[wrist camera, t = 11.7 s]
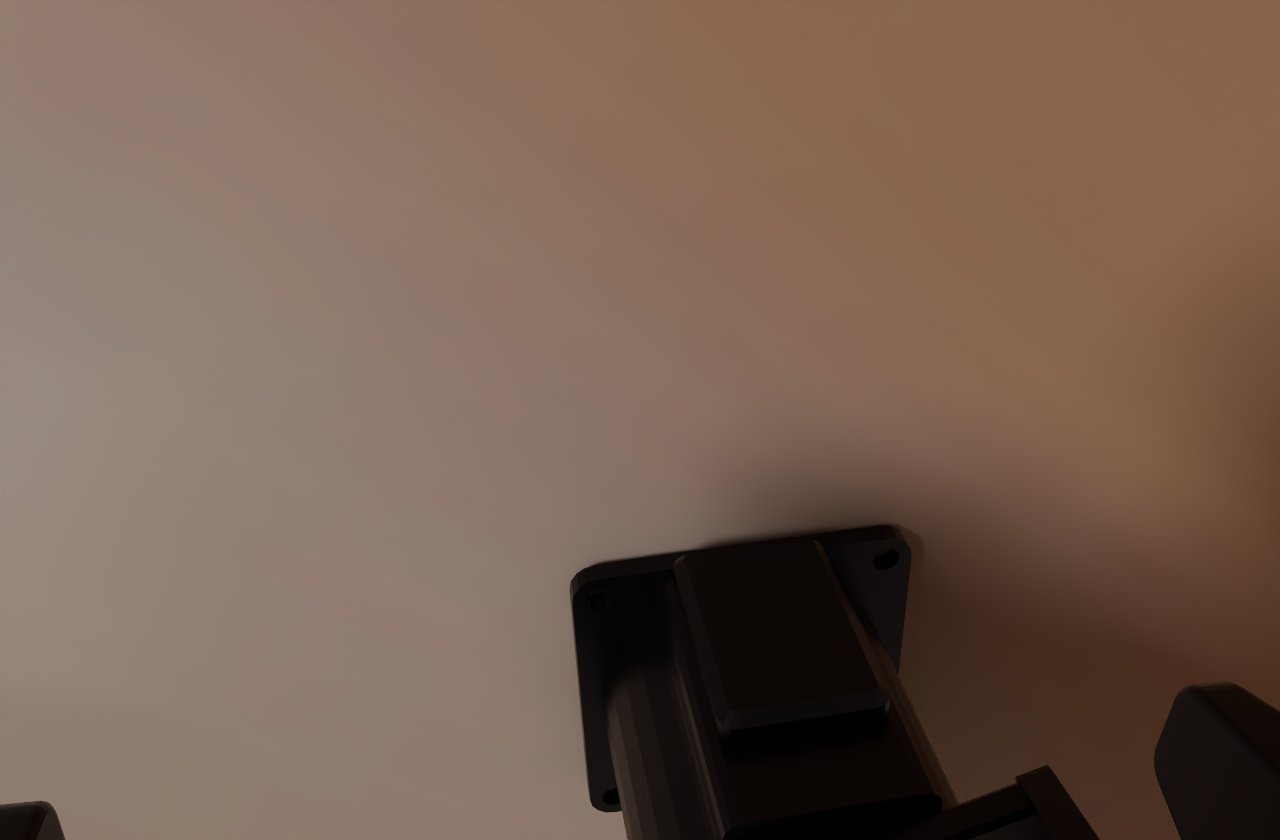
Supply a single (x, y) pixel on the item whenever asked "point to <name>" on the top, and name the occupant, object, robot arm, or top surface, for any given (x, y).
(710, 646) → the robot arm
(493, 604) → the top surface
